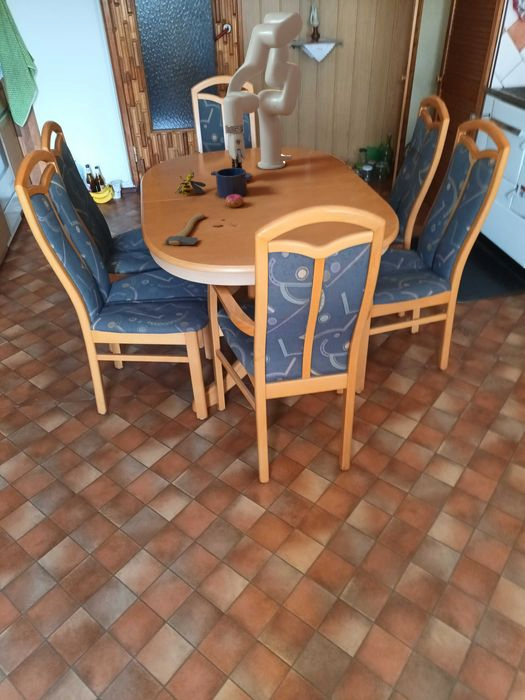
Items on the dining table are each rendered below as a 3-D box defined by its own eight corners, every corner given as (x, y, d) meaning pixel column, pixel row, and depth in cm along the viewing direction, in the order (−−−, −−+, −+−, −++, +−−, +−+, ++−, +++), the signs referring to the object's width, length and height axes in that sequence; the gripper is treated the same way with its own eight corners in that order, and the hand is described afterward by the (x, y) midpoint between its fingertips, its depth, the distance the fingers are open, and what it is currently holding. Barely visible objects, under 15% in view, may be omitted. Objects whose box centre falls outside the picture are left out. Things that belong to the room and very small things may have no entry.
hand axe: (193, 242, 170) (164, 240, 172) (194, 247, 170) (165, 245, 173) (217, 212, 191) (191, 211, 193) (218, 217, 192) (191, 216, 194)
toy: (162, 181, 205) (180, 167, 216) (166, 202, 210) (184, 187, 221) (189, 184, 201) (206, 169, 212) (192, 204, 207) (209, 189, 217)
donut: (241, 201, 205) (240, 191, 202) (246, 207, 199) (245, 197, 197) (223, 204, 203) (222, 194, 201) (227, 209, 197) (227, 200, 195)
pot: (221, 186, 220) (219, 166, 215) (258, 191, 214) (257, 170, 209) (206, 195, 212) (204, 174, 207) (244, 200, 205) (242, 178, 200)
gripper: (249, 132, 210) (251, 179, 220) (237, 124, 223) (240, 168, 233) (231, 134, 208) (234, 181, 218) (220, 126, 221) (224, 171, 231)
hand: (237, 174), depth 225 cm, fingers closed on pot lid, 3 cm apart
